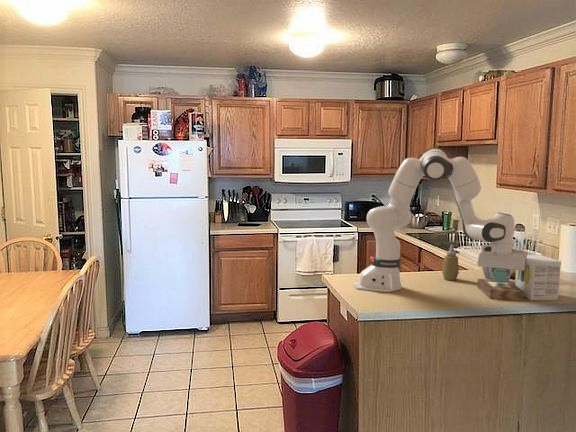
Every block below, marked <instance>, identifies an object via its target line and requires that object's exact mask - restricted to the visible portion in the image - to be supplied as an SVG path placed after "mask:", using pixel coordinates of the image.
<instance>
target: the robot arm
mask: <svg viewBox="0 0 576 432" xmlns="http://www.w3.org/2000/svg"><path fill="white" fill-rule="evenodd" d="M424 176H425V177H426V178H427V179H428V180H430V181H440V180H447V179H448V180H449V181H450V182H449V183H450V184H451V187H452V189H453V192H454V199H455V204H456V206H457V209H458V213H459V215H460V218H461V223H462V232H463V235H464V236H465V237H466V238H467V239H470V240H475V241H476V240H477V241H480V242H485V243H487V244H483V245H481V248H480V252H479V254H478V258H477V261H476V262H477V266H478V267H480V268H483V267H489V268H488V270H489V272H490V273H491V276H490V277H494V273H492V271H491V270H492V268H500V269H510V273H509V274H507V279H509V280H510V279H511V277H510V275H511V274H512V273H513V270H519V271H524V270H525V260H526V259H527V256H528V255H527V253H526V252H525V251H526V250H525V249H519V250H516V249H517V248H514V238H513V237H514V235H515V219H514V216H513V215H511V214H509V213H503V212H496V213H495V214H494V215H493V216H492V217H490V218H488V219H482V218H479V217H478V216H477V215H476V213H475V210H474V208H473V205H472V200H473V199H475V198H477V196H479V194H480V193H481V189H482V188H481V187H482V186H481V182H480V179H479V177H478V175H477V172H476V170H475V169H474V168H473V165H472V164H471V162H470V161H469V159H467V158H466V157H464V156H457V157H453V158H449V157H448V155H447V153H446V152H445V150H443V149H442V148H440V147H431V148H428V149H427V150H426V151H425V152H423V153H421V154H420V155H418V158H416V157H407V158H405V159H404V160H403V161H402V162H401V164H400V166H399V167H398V169H397V171H396V173H395V175H394V176H393V179H392V182H391V183H390V186H389V188H388V191H387V192H388V193H387V194H388V196H389V198H390V200H389V203H388V205H384V206H382V205H381V206H377V207H373V208H372V209H369V211H368V212H367V214H366V223H367V225H368V226H369V228H370V229H371V230H372V231H373V234H374V238H375V257H374V256H370V257H369V258H370V261H371V264H370V265H369V266H367V267H366V268H365V269H363V270H362V271H361V272H360V273H359V276H358V280H355V281H354V282H353V286H354V288H355V289H357V290H365V291H374V292H382V293H391V292H392V293H393V292H394V291H400V290H402V288H403V286H402V283H401V276H400V275H401V273H400V271H401V263H402V262H401V258H400V257H401V243H400V242H401V241H400V240H399V239H398V238H397V237H396V234H395V230H396V229H400V228H403V227H406V226H408V225H409V224H410V223H411V222H412V211H411V210H410V207H411V202H412V199H413V197H414V194H415V192H416V190H417V187H418V185H419V183H420V182H421V180H422V178H424ZM524 250H525V251H524ZM523 252H525V253H523Z"/></svg>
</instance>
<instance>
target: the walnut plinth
mask: <svg viewBox="0 0 576 432" xmlns="http://www.w3.org/2000/svg"><path fill="white" fill-rule="evenodd" d="M476 288H478V289H479V290H480V291H481V292H482V293H483V294H484V295H485V296H486V297H487V298H489V300H490V299H491V300H506V301H507V300H509V301H510V300H511V301H524V296H523V295H524V291H522V290H521V289H520V288H518V287H517V286H516V285H515V283H513V282H512V281H510V279H509V280H507V281H506V283H500V282H494V280H493V279H486V278H477V285H476Z"/></svg>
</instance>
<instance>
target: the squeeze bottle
mask: <svg viewBox="0 0 576 432" xmlns="http://www.w3.org/2000/svg"><path fill="white" fill-rule="evenodd" d="M448 249H449V250H447V251H446V255H444V260H443V263H442V264H443V265H442V269H441V271H442V276H443V279H444V280H446V281H455V280H457V278H458V276H459V273H460V272H459V271H460V269H459V256H457V252H456V251H455V247H454V244H450V246H449V248H448Z"/></svg>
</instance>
